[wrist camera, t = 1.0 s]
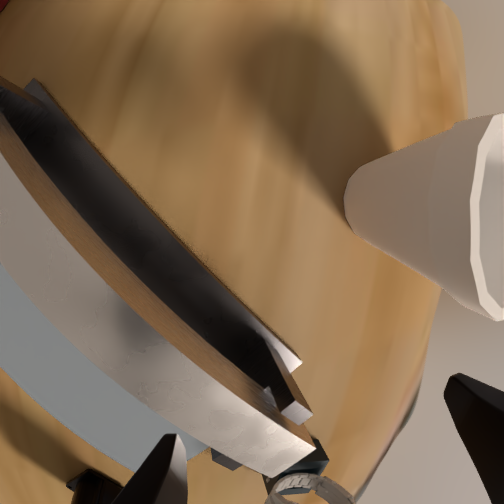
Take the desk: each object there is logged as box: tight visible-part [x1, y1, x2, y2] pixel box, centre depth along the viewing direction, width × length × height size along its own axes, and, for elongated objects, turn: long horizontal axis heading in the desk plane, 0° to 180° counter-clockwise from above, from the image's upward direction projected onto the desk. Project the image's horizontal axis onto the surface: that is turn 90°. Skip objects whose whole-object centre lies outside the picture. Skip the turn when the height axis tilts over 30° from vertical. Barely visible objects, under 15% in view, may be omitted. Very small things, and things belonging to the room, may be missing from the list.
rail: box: [0, 111, 316, 478], centre depth 12 cm, size 3×28×3 cm, turn 42°
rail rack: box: [0, 76, 313, 471], centre depth 15 cm, size 7×29×8 cm, turn 43°
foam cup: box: [343, 113, 504, 321], centre depth 15 cm, size 10×9×13 cm
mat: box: [0, 263, 209, 472], centre depth 19 cm, size 11×32×1 cm, turn 42°
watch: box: [262, 440, 356, 504], centre depth 19 cm, size 6×8×11 cm
